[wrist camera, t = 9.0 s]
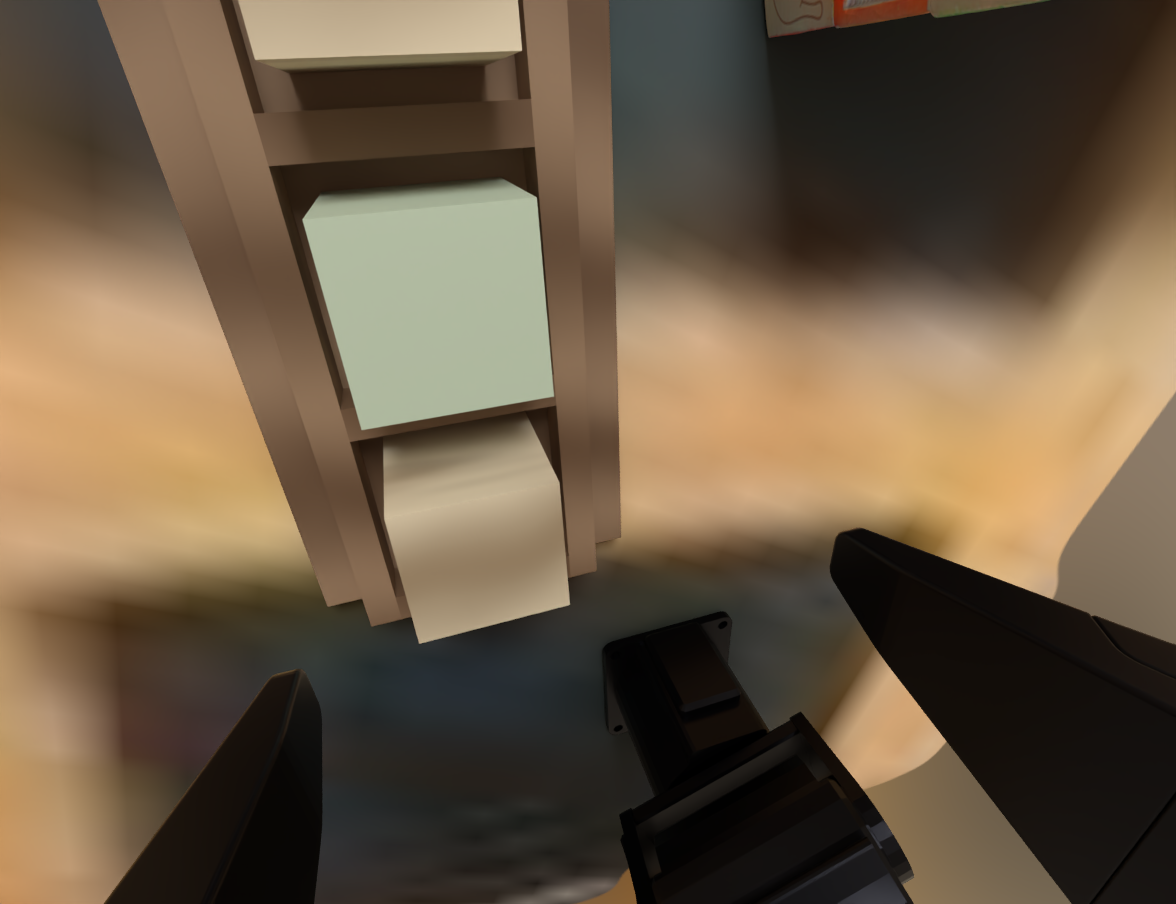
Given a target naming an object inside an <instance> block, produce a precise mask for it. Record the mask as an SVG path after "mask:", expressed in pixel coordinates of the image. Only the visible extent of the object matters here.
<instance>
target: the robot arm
mask: <svg viewBox="0 0 1176 904" xmlns="http://www.w3.org/2000/svg"><path fill="white" fill-rule="evenodd" d="M830 573H831V577H832V579H833V581H834V583H835V584H836V586H837V588H838V589H839V591H840V592H841V594H842V596H843V597H844V599H845V600H846V602H847V604H848V605H849V607H850V608H851V610H852V612H853V613H854V615H855V616H856V618H857V620H858V621H859V623H860V624H861V626H862V628H863V629H864V631H865V632H866V634H867V635H868V637H869V639H870V640H871V642H872V643H873V645H874V646H875V648H876V649H877V651H878V652H879V654H880V655H881V656H882V658H883V659H884V660H885V662H886V663H887V664H888V666H889V667H890V668H891V670H892V671H893V672H894V674H895V675H896V676H897V677H898V679H899V680H900V681H901V683H902V684H903V685H904V687H905V688H906V689H907V690H908V692H909V693H910V694H911V696H912V697H913V698H914V700H915V701H916V702H917V703H918V705H919V706H920V707H921V709H922V710H923V711H924V713H925V714H926V715H927V716H928V718H929V719H930V720H931V722H932V723H933V724H934V725H935V727H936V728H937V729H938V731H939V732H940V733H941V735H942V736H943V737H944V738H945V740H946V741H947V742H948V744H949V745H950V746H951V748H952V749H953V750H954V751H955V753H956V754H957V755H958V756H959V758H960V759H961V760H962V762H963V763H964V764H965V766H966V767H967V768H968V769H969V771H970V772H971V773H972V775H973V776H974V777H975V779H976V780H977V781H978V783H979V784H980V785H981V787H982V788H983V789H984V790H985V792H986V793H987V794H988V796H989V797H990V798H991V799H992V801H993V802H994V803H995V805H996V806H997V807H998V808H999V810H1000V811H1001V812H1002V814H1003V815H1004V816H1005V818H1006V819H1007V820H1008V822H1009V823H1010V824H1011V825H1012V827H1013V828H1014V829H1015V831H1016V832H1017V833H1018V834H1019V836H1020V837H1021V838H1022V839H1023V841H1024V842H1025V844H1026V845H1027V846H1028V848H1030V850H1031V851H1032V853H1033V854H1034V855H1035V857H1036V858H1037V859H1038V861H1039V862H1040V863H1041V864H1042V866H1043V867H1044V868H1045V870H1046V871H1047V872H1048V873H1049V875H1050V876H1051V877H1052V879H1053V880H1054V881H1055V883H1056V884H1057V885H1058V886H1059V888H1060V889H1061V890H1062V892H1063V893H1064V894H1065V895H1066V897H1067V898H1068V899H1069V901H1070V902H1071V903H1072V904H1176V645H1175V644H1172V643H1169V642H1166V641H1164V640H1161V639H1158V638H1155V637H1152V636H1150V635H1147V634H1144V633H1141V632H1139V631H1136V630H1133V629H1130V628H1128V627H1125V626H1122V625H1119V624H1117V623H1114V622H1111V621H1109V620H1106V619H1104V618H1101V617H1098V616H1095V615H1094V616H1091V615H1090V614H1089V613H1087V612H1084V611H1082V610H1079V609H1077V608H1074V607H1071V606H1069V605H1066V604H1063V603H1061V602H1058V601H1055V600H1053V599H1050V598H1047V597H1045V596H1042V595H1039V594H1037V593H1034V592H1031V591H1029V590H1026V589H1023V588H1021V587H1018V586H1015V585H1013V584H1010V583H1007V582H1005V581H1002V580H999V579H997V578H994V577H991V576H989V575H986V574H983V573H981V572H978V571H975V570H973V569H970V568H967V567H965V566H962V565H959V564H957V563H954V562H951V561H949V560H946V559H943V558H941V557H938V556H935V555H933V554H930V553H927V552H925V551H922V550H919V549H917V548H914V547H911V546H909V545H906V544H903V543H901V542H898V541H895V540H893V539H890V538H887V537H885V536H882V535H879V534H877V533H874V532H871V531H869V530H866V529H863V528H854V529H850V530H846V531H842V532H840V533H838V535H837V536H836V538H835V542H834V547H833V552H832V557H831V563H830ZM731 627H732V620H731V618H730V617H729V615H728V614H727V613H726V612H717V613H714V614H710V615H707V616H703V617H700V618H696V619H692V620H689V621H685V622H682V623H678V624H674V625H671V626H667V627H664V628H660V629H656V630H653V631H649V632H646V633H642V634H639V635H635V636H631V637H628V638H624V639H621V640H617V641H613V642H611V643H609V644H607V645H606V646H605V648H604V649H603V663H604V684H605V704H606V724H607V727H608V730H609V733H610V734H612V735H618V734H621V733H624V732H627V731H629V734H630V736H631V739H632V741H633V744H634V746H635V749H636V751H637V753H638V756H639V758H640V761H641V763H642V766H643V768H644V771H645V773H646V776H647V778H648V781H649V783H650V786H651V788H652V791H653V793H654V796H655V797H654V798H652V799H651V800H649V801H647V802H645V803H643V804H642V805H640V806H638V807H636V808H635V809H633V810H632V809H631V808H630V809H628V810H626V811H624V812H623V813H621V814H620V815H619V816H620V820H621V824H622V828H623V832H624V835H622V838H621V843H622V846H623V849H624V852H625V855H626V858H627V862H628V865H629V870H630V874H631V878H632V882H633V886H634V890H635V894H636V901H637V904H913V902H912V900H911V898H910V897H909V895H908V893H907V892H906V890H905V889H904V887H903V885H902V884H904V883H906V882H908V881H909V880H911V879H913V878H914V874H913V871H912V869H911V866H910V864H909V862H908V860H907V858H906V857H905V854H904V853H903V851H902V849H901V847H900V846H899V844H898V842H897V840H896V839H895V837H894V835H893V834H892V832H891V830H890V829H889V827H888V826H887V824H886V823H885V821H884V819H883V818H882V816H881V815H880V814H879V812H878V810H877V809H876V808H875V806H874V805H873V803H872V802H871V801H870V799H869V798H868V796H867V795H866V793H865V792H864V791H863V789H862V788H861V787H860V785H859V784H858V783H857V782H856V780H855V779H854V778H853V777H852V775H851V774H850V773H849V772H848V770H847V769H846V768H845V767H844V765H843V764H842V763H841V762H840V760H839V759H838V758H837V757H836V755H835V754H834V753H833V751H832V750H831V749H830V748H829V746H828V745H827V744H826V743H825V741H824V740H823V739H822V738H821V736H820V735H819V734H818V733H817V731H816V730H815V729H814V728H813V726H812V725H811V724H810V723H809V721H808V720H807V719H806V718H805V716H804V715H803V714H802V713H801V712H799V713H797V714H795V715H794V716H792V717H790V721H788V722H786V723H784V724H783V725H781V726H779V727H777V728H776V729H774V730H772V731H769V729H768V728H767V726H766V724H765V723H764V721H763V720H762V718H761V716H760V715H759V713H758V712H757V710H756V708H755V707H754V705H753V704H752V702H751V700H750V699H749V697H748V696H747V694H746V693H745V691H744V689H743V688H742V686H741V685H740V683H739V681H738V680H737V678H736V677H735V675H734V673H733V672H732V670H731V669H730V667H729V666H728V664H727V663H728V654H729V645H730V636H731ZM321 833H322V716H321V709H320V705H319V702H318V700H317V698H316V695H315V693H314V691H313V688H312V686H311V684H310V681H309V679H308V677H307V675H306V673H305V672H304V671H303V670H302V669H295V670H291V671H287V672H283V673H279V674H276V675H273V676H272V677H271V678H270V679H269V680H268V681H267V682H266V684H265V685H264V686H263V688H262V689H261V690H260V692H259V693H258V694H257V696H256V697H255V699H254V700H253V701H252V703H251V704H250V705H249V707H248V708H247V709H246V711H245V712H244V714H243V715H242V716H241V718H240V719H239V720H238V722H237V723H236V724H235V726H234V727H233V728H232V730H231V731H230V733H229V734H228V735H227V737H226V738H225V739H224V741H223V742H222V743H221V745H220V746H219V748H218V749H217V750H216V752H215V753H214V754H213V756H212V757H211V758H210V760H209V761H208V763H207V764H206V765H205V767H204V768H203V769H202V771H201V772H200V773H199V775H198V776H197V777H196V779H195V780H194V782H193V783H192V784H191V786H190V787H189V788H188V790H187V791H186V792H185V794H184V795H183V797H182V798H181V799H180V801H179V802H178V803H177V805H176V806H175V807H174V809H173V810H172V812H171V813H170V814H169V816H168V817H167V818H166V820H165V821H164V822H163V824H162V825H161V826H160V828H159V829H158V831H157V832H156V833H155V835H154V836H153V837H152V839H151V840H150V841H149V843H148V844H147V846H146V847H145V848H144V850H143V851H142V852H141V854H140V855H139V856H138V858H137V859H136V861H135V862H134V863H133V865H132V866H131V867H130V869H129V870H128V871H127V873H126V874H125V876H124V877H123V878H122V880H121V881H120V882H119V884H118V885H117V886H116V888H115V889H114V890H113V892H112V893H111V895H110V896H109V897H108V899H107V900H106V901H105V903H104V904H314V900H315V890H316V881H317V872H318V863H319V854H320V845H321Z"/></svg>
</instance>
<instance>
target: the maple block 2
mask: <svg viewBox="0 0 1176 904" xmlns="http://www.w3.org/2000/svg"><path fill="white" fill-rule="evenodd" d="M383 466H384V520H385V524H386V527H387V531H388V534H389V538H390V541H391V545H392V548H393V552H394V556H395V559H396V563H397V566H398V570H399V573H400V577H401V580H402V584H403V587H404V591H405V595H406V598H407V602H408V605H409V609H410V612H411V616H412V619H413V623H414V627H415V630H416V634H417V637H418V641H419V644H421V643H425V642H428V641H432V640H436V639H440V638H444V637H448V636H452V635H455V634H459V633H463V632H467V631H471V630H475V629H479V628H482V627H486V626H490V625H494V624H498V623H502V622H506V621H509V620H513V619H517V618H521V617H525V616H529V615H533V614H537V613H540V612H544V611H548V610H552V609H556V608H560V607H564V606H567V605H570V600H569V588H568V576H567V565H566V553H565V542H564V530H563V518H562V507H561V495H560V484H559V481H558V478H557V476H556V474H555V472H554V470H553V468H552V466H551V464H550V462H549V460H548V458H547V456H546V454H545V452H544V450H543V448H542V445H541V443H540V441H539V439H538V437H537V435H536V433H535V431H534V429H533V427H532V425H531V423H530V421H529V419H528V417H527V415H526V412H525V411H522V412H516V413H511V414H505V415H499V416H494V417H488V418H482V419H477V420H471V421H465V422H460V423H454V424H448V425H443V426H437V427H432V428H426V429H420V430H415V431H409V432H403V433H398V434H392V435H386V436H383Z"/></svg>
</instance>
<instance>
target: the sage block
mask: <svg viewBox="0 0 1176 904" xmlns="http://www.w3.org/2000/svg"><path fill="white" fill-rule="evenodd" d="M302 220H303V224H304V227H305V231H306V234H307V238H308V242H309V245H310V249H311V252H312V256H313V259H314V263H315V266H316V270H317V273H318V277H319V281H320V284H321V288H322V291H323V295H324V298H325V302H326V305H327V309H328V313H329V316H330V320H331V323H332V327H333V330H334V334H335V337H336V341H337V345H338V348H339V352H340V355H341V359H342V362H343V366H344V369H345V373H346V377H347V380H348V384H349V387H350V391H351V394H352V398H353V401H354V405H355V408H356V412H357V416H358V419H359V423H360V426H361V430H366V429H371V428H377V427H383V426H388V425H394V424H400V423H406V422H411V421H417V420H423V419H428V418H434V417H440V416H446V415H451V414H457V413H463V412H468V411H474V410H480V409H485V408H491V407H497V406H503V405H508V404H514V403H520V402H525V401H531V400H537V399H543V398H548V397H554V391H553V379H552V368H551V356H550V345H549V333H548V321H547V310H546V298H545V287H544V275H543V264H542V252H541V240H540V229H539V217H538V206H537V197H535V196H533V195H531V194H530V193H528V192H526V191H524V190H522V189H521V188H519V187H517V186H515V185H513V184H512V183H510V182H508V181H506V180H504V179H503V178H501V177H491V178H480V179H468V180H456V181H444V182H433V183H421V184H409V185H398V186H386V187H374V188H362V189H351V190H339V191H327V192H321V194H320V195H319V197H318V198H317V199H316V201H315V202H314V204H313V205H312V207H311V208H310V209H309V211H308V212H307V214H306V215H305V217H304V218H303V219H302Z"/></svg>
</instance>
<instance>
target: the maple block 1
mask: <svg viewBox="0 0 1176 904" xmlns="http://www.w3.org/2000/svg"><path fill="white" fill-rule="evenodd" d="M238 1H239V5H240V9H241V12H242V16H243V19H244V23H245V26H246V30H247V33H248V37H249V41H250V44H251V48H252V51H253V55H254V58H255V60H257V61H259V62H262V63H264V64H267V65H269V66H272V67H274V68H277V69H279V70H281V71H284V72H286V73H289V74H293V73H318V72H344V71H369V70H395V69H420V68H445V67H471V66H486V65H489V64H491V63H494V62H496V61H498V60H501V59H503V58H506V57H508V56H511V55H513V54H515V53H518V52H520V51H522V43H521V31H520V20H519V8H518V0H238Z"/></svg>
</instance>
